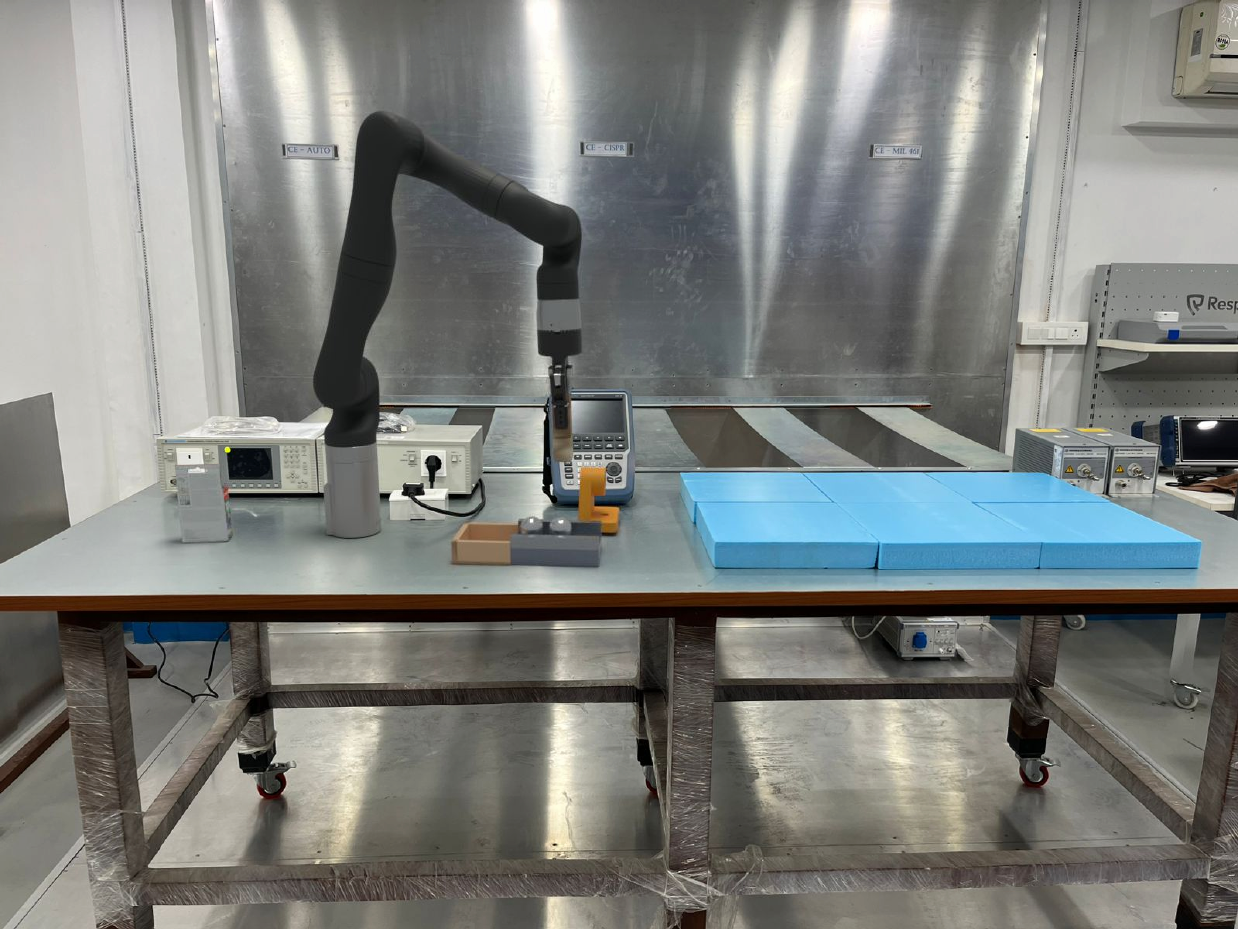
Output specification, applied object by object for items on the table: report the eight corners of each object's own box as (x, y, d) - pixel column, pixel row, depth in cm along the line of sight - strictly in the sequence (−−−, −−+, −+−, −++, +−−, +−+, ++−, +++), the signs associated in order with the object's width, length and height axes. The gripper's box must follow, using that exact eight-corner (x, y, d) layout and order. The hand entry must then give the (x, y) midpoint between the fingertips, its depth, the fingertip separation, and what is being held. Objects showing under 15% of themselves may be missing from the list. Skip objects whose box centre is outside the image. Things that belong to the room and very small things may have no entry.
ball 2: (547, 542, 146) (547, 520, 145) (550, 535, 150) (550, 514, 149) (570, 543, 146) (570, 521, 145) (572, 536, 150) (572, 514, 149)
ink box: (188, 537, 155) (179, 460, 152) (233, 535, 156) (226, 459, 153) (181, 544, 152) (172, 465, 148) (228, 542, 153) (220, 464, 149)
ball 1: (519, 542, 146) (518, 520, 145) (522, 534, 150) (522, 513, 149) (542, 542, 146) (541, 520, 145) (544, 535, 150) (544, 513, 149)
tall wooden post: (553, 462, 145) (550, 381, 142) (556, 455, 150) (553, 377, 147) (571, 462, 145) (568, 380, 142) (573, 455, 150) (570, 376, 147)
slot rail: (510, 564, 144) (510, 536, 142) (519, 544, 154) (519, 518, 153) (598, 567, 143) (598, 539, 142) (601, 546, 153) (601, 520, 152)
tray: (452, 564, 144) (451, 541, 143) (465, 543, 154) (464, 522, 153) (510, 565, 143) (510, 543, 142) (519, 544, 154) (519, 523, 153)
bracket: (616, 536, 160) (617, 475, 157) (578, 535, 160) (578, 474, 157) (619, 520, 170) (620, 462, 167) (583, 518, 170) (583, 461, 168)
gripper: (541, 324, 149) (545, 420, 153) (531, 330, 136) (536, 435, 139) (583, 323, 149) (586, 419, 153) (578, 329, 135) (581, 434, 139)
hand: (562, 426), depth 146 cm, fingers closed on tall wooden post, 3 cm apart
